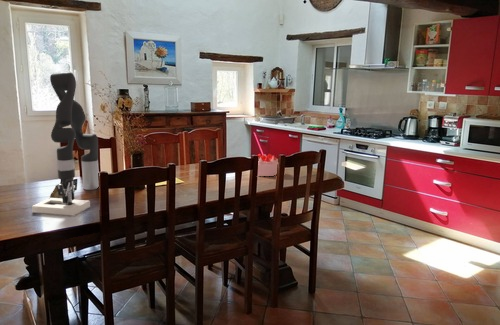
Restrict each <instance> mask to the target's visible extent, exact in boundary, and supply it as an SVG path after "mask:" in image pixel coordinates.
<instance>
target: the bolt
mask: <svg viewBox="0 0 500 325" xmlns="http://www.w3.org/2000/svg"><path fill="white" fill-rule="evenodd" d="M65 190H66V189H65ZM67 198H68V203H66V205H72V193H71V187H69V191H68V192H67Z"/></svg>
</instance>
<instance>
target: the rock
mask: <svg viewBox="0 0 500 325" xmlns="http://www.w3.org/2000/svg"><path fill="white" fill-rule="evenodd" d="M59 184H60V183H58V184H57V185H59ZM63 189H64V188H63ZM64 190H65V189H64ZM64 193H65V191H64ZM49 198H61V199H62V196H59V194H58V191H57V187H56V185H55V187H54V188H53V190H52V192H51V193H50V196H49Z"/></svg>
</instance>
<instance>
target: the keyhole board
mask: <svg viewBox="0 0 500 325" xmlns="http://www.w3.org/2000/svg"><path fill="white" fill-rule="evenodd" d="M31 206H32V207H31V210H32V211H31V212H32V214H39V215H40V214H41V215H51V216H52V215H54V216H66V217H76V216H77V215H79V214H81V213H82V212H84V211H86V210H88V209H89V208H91V202H90V200H87V199H86V200H83V199H75V198H74V200H72V205H66V203H63V199H61V198H50V197H49V198H47V199H44V200H42V201H40V202H38V203H36V204H34V205H31Z"/></svg>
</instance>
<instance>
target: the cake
mask: <svg viewBox="0 0 500 325" xmlns="http://www.w3.org/2000/svg"><path fill="white" fill-rule="evenodd" d="M257 156H259V161H258V175H259V176H273V175H276V173H277V164H278V165H279V161H278V159H277V157H276V156H275V155H274V154H273V155H272V153H268V154H267V155H266V154H265V153H264V154H263V155H262V154H261V153H258V154H257ZM259 176H258V177H259Z"/></svg>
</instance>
